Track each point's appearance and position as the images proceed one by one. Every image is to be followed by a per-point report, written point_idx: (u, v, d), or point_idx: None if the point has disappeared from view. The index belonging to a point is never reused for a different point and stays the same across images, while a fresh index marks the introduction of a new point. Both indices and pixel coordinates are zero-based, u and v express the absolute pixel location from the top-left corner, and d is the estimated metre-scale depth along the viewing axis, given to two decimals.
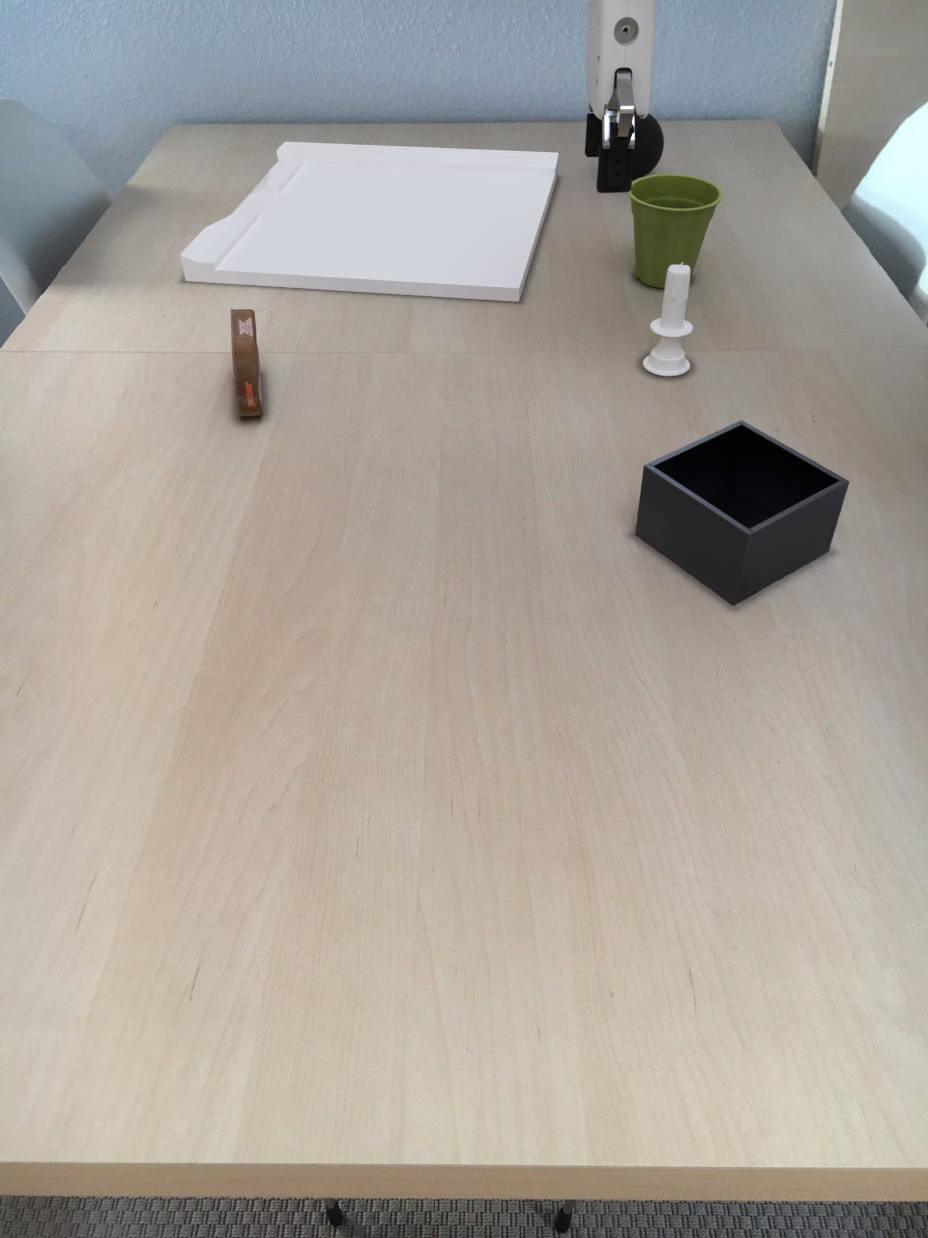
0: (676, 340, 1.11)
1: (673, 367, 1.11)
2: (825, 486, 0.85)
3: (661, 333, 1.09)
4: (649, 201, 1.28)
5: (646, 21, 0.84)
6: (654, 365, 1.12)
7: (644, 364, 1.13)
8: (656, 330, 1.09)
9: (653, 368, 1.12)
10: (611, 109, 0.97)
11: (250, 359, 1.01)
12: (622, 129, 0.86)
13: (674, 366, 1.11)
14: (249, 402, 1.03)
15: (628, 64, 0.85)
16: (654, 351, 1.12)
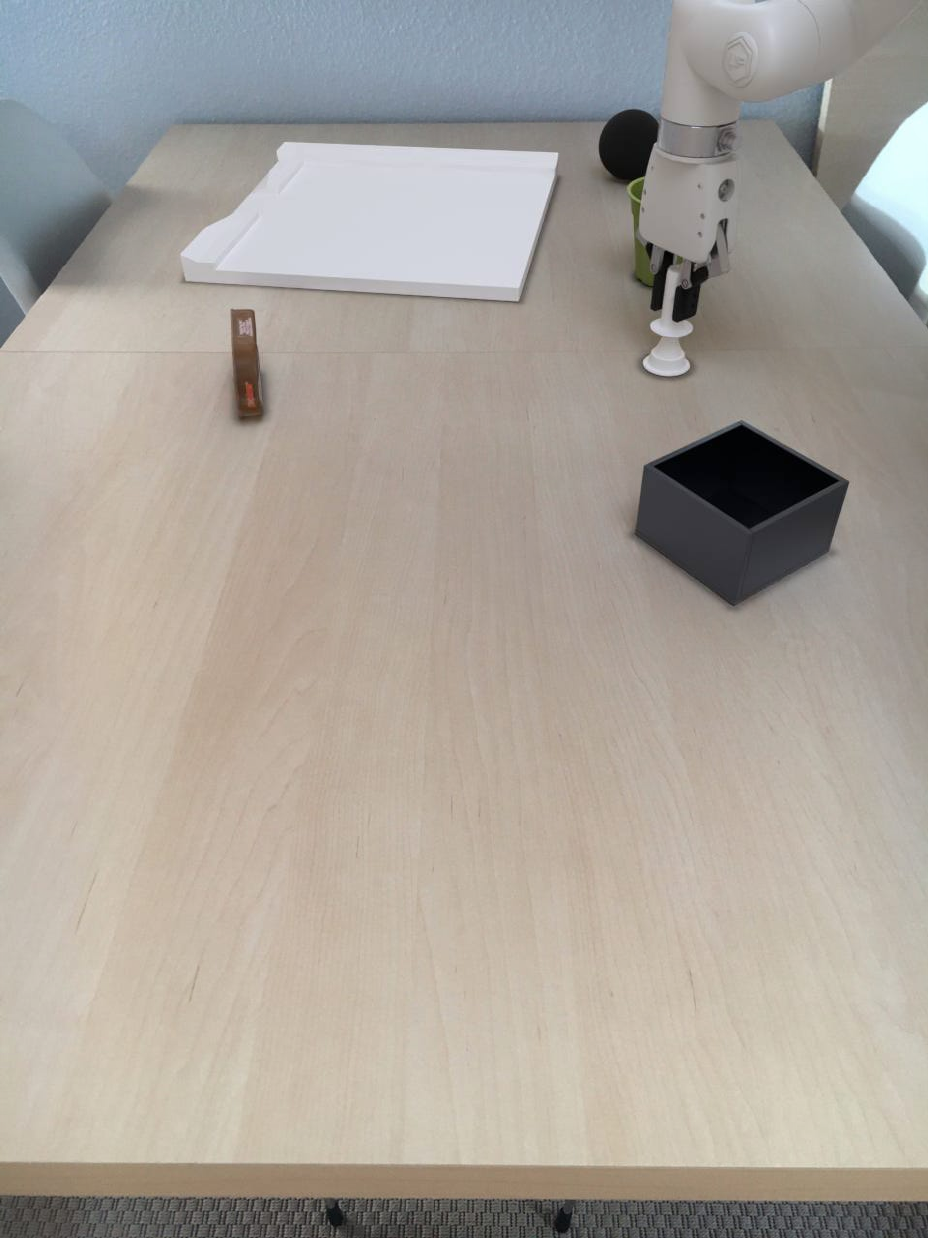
0: (676, 340, 1.11)
1: (673, 367, 1.11)
2: (825, 486, 0.85)
3: (661, 333, 1.09)
4: None
5: (738, 179, 0.97)
6: (654, 365, 1.12)
7: (644, 364, 1.13)
8: (656, 330, 1.09)
9: (653, 368, 1.12)
10: None
11: (250, 359, 1.01)
12: None
13: (674, 366, 1.11)
14: (249, 402, 1.03)
15: (727, 215, 0.98)
16: (654, 351, 1.12)
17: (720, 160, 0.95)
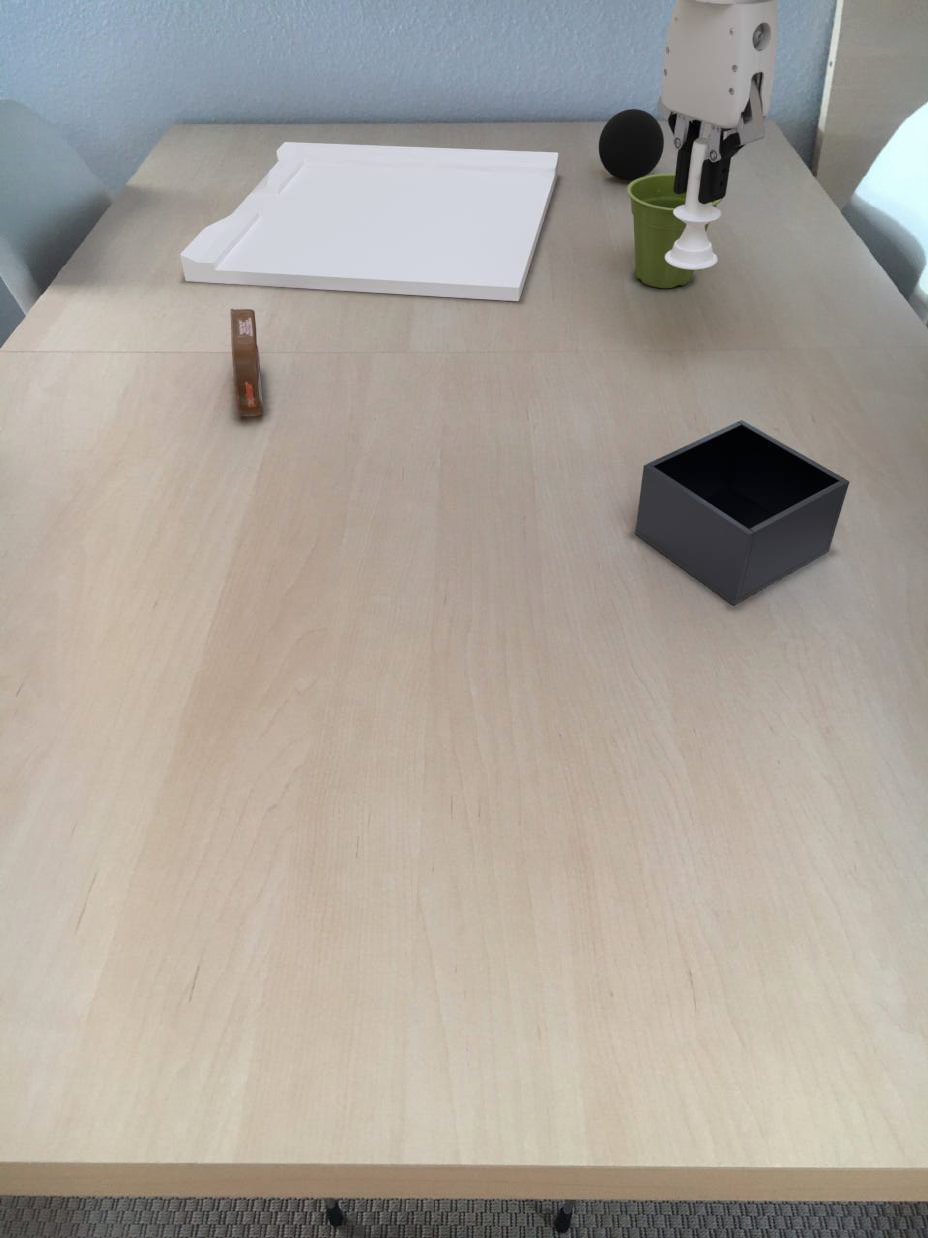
0: (702, 228, 0.99)
1: (699, 259, 0.99)
2: (825, 486, 0.85)
3: (686, 218, 0.97)
4: (649, 201, 1.28)
5: (775, 24, 0.85)
6: (677, 258, 1.00)
7: (666, 258, 1.01)
8: (680, 215, 0.97)
9: (676, 261, 1.00)
10: None
11: (250, 359, 1.01)
12: (743, 144, 0.90)
13: (700, 258, 0.99)
14: (249, 402, 1.03)
15: (762, 68, 0.86)
16: (677, 242, 1.00)
17: (755, 0, 0.83)
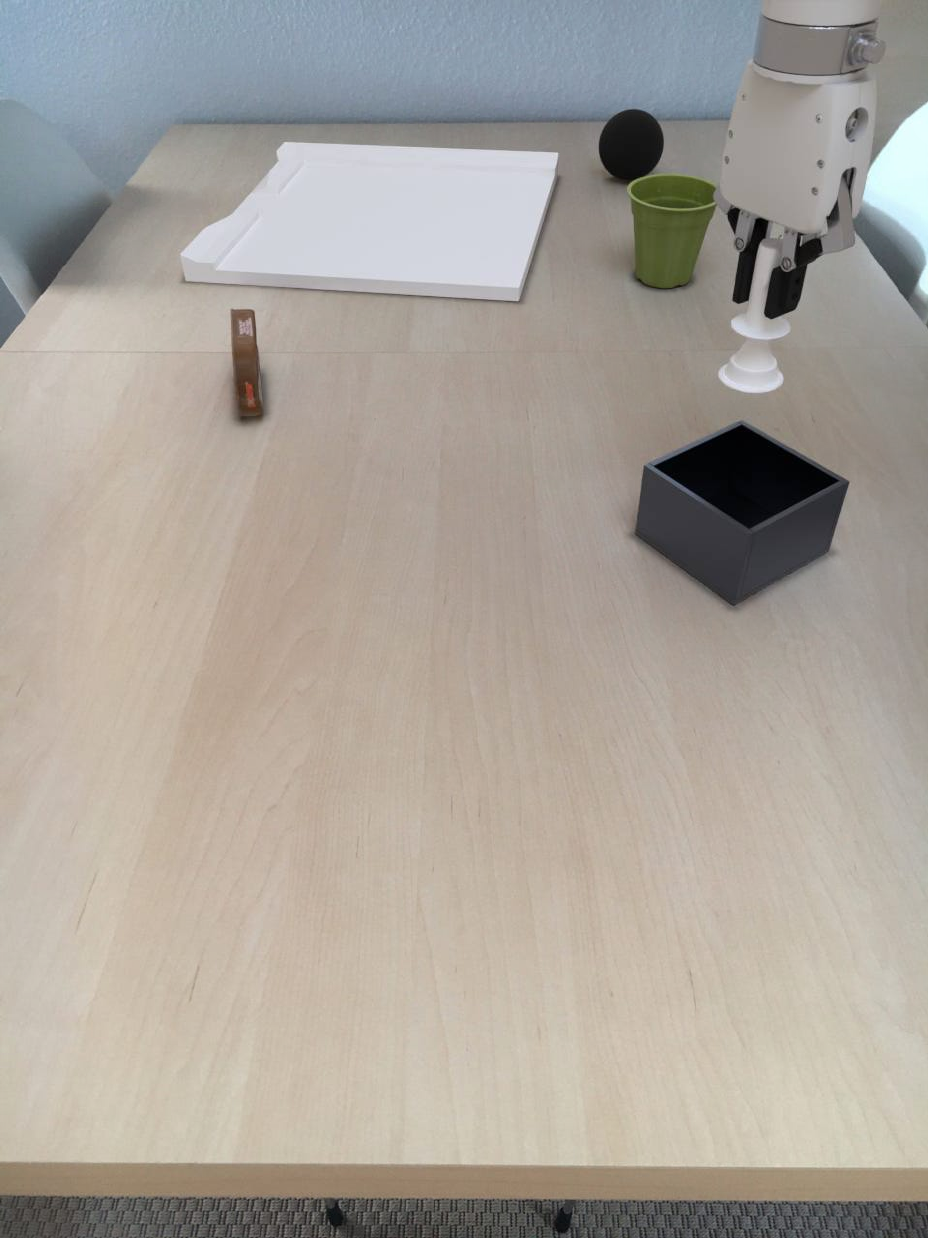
0: (767, 344, 0.80)
1: (762, 381, 0.81)
2: (825, 486, 0.85)
3: (747, 334, 0.79)
4: (649, 201, 1.28)
5: (873, 108, 0.66)
6: (735, 378, 0.82)
7: (720, 377, 0.83)
8: (740, 330, 0.79)
9: (733, 382, 0.82)
10: None
11: (250, 359, 1.01)
12: None
13: (763, 380, 0.81)
14: (249, 402, 1.03)
15: (855, 163, 0.68)
16: (735, 359, 0.82)
17: (849, 80, 0.65)
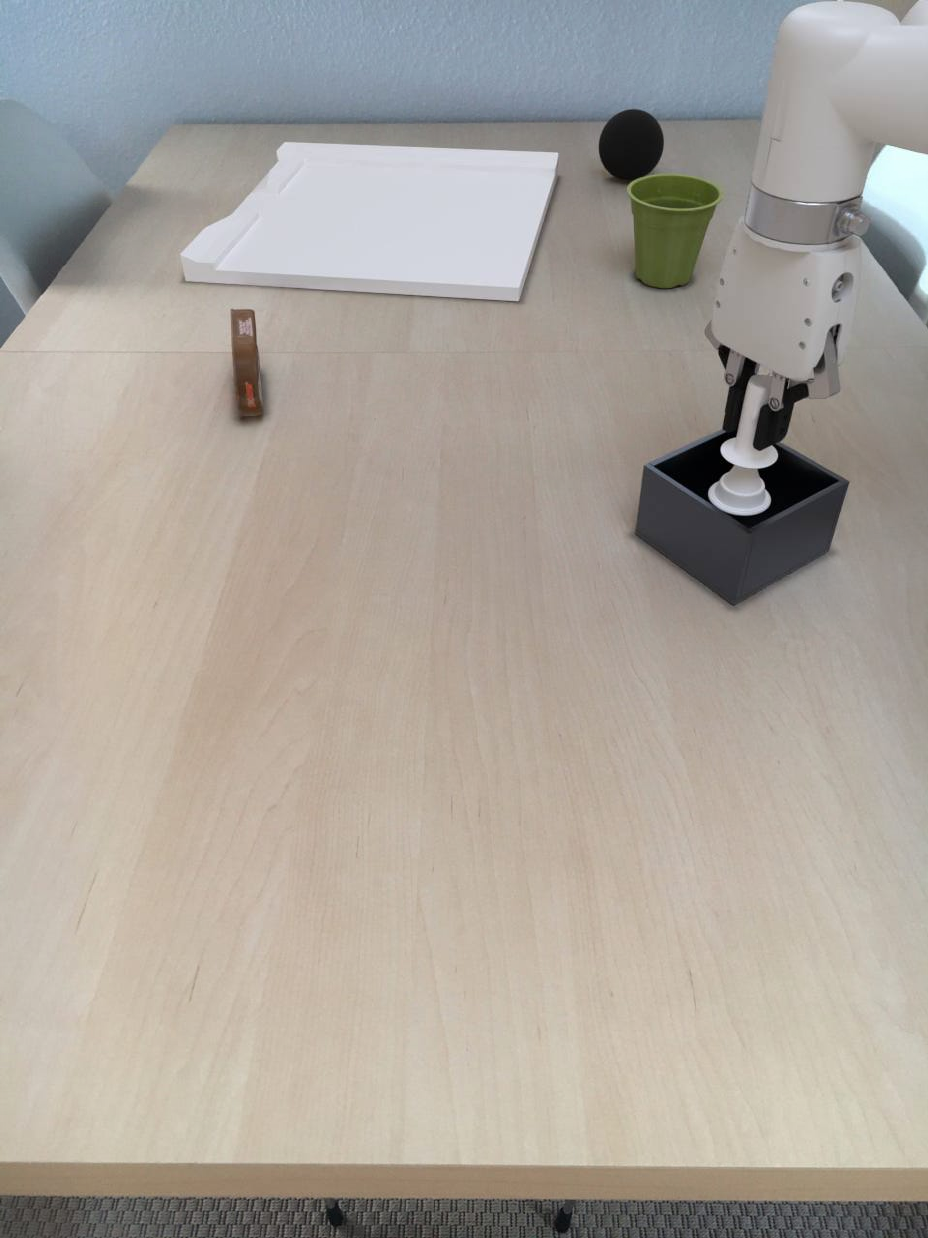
0: (755, 469, 0.83)
1: (750, 504, 0.84)
2: (825, 486, 0.85)
3: (736, 463, 0.82)
4: (649, 201, 1.28)
5: (858, 271, 0.69)
6: (724, 500, 0.85)
7: (710, 497, 0.86)
8: (729, 458, 0.82)
9: (723, 503, 0.85)
10: None
11: (250, 359, 1.01)
12: None
13: (751, 503, 0.84)
14: (249, 402, 1.03)
15: (840, 320, 0.71)
16: (724, 481, 0.85)
17: (836, 247, 0.68)
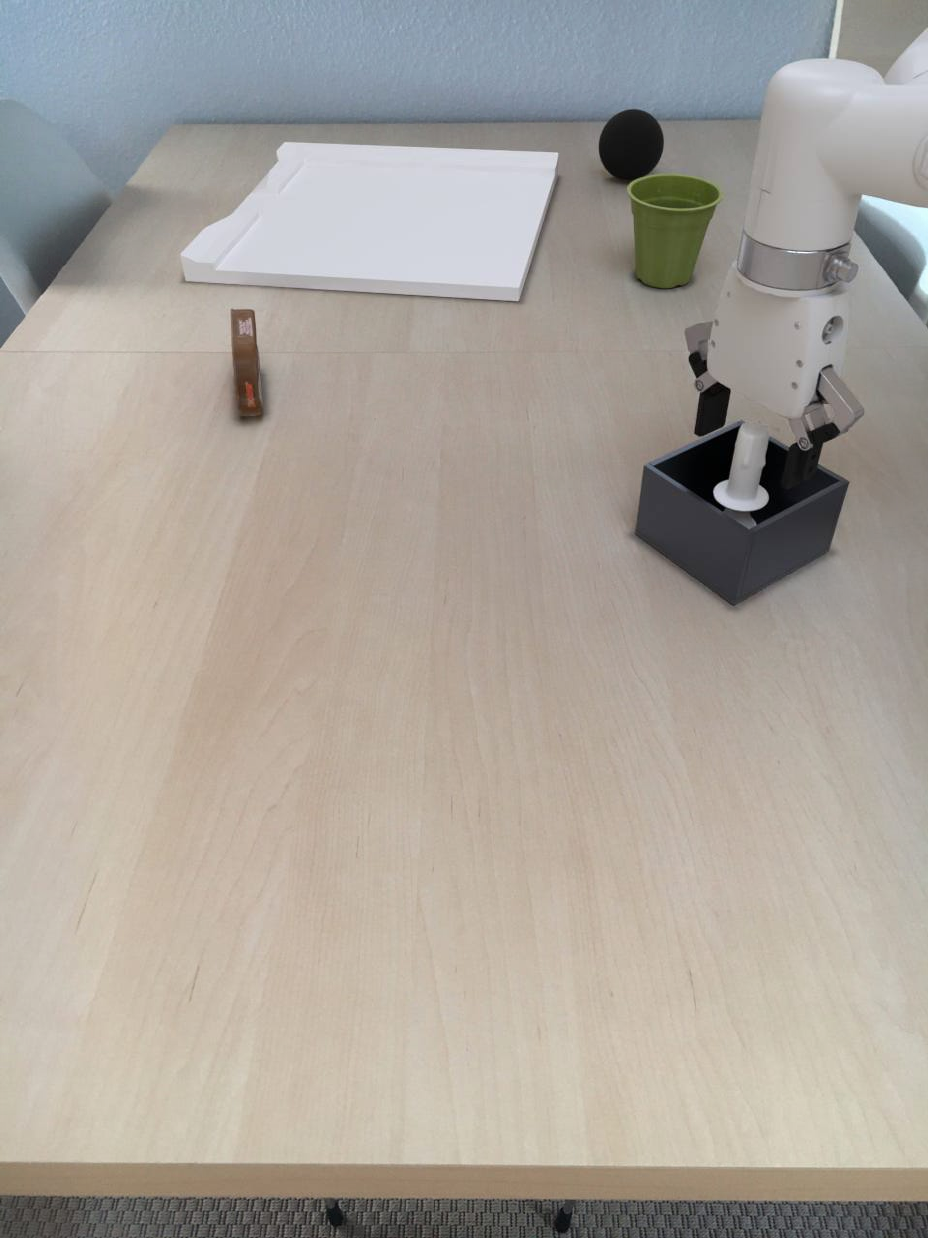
0: (747, 511, 0.86)
1: None
2: (825, 486, 0.85)
3: (729, 506, 0.85)
4: (649, 201, 1.28)
5: (848, 314, 0.72)
6: None
7: None
8: (722, 501, 0.85)
9: None
10: None
11: (250, 359, 1.01)
12: (843, 431, 0.74)
13: None
14: (249, 402, 1.03)
15: (831, 361, 0.73)
16: None
17: (825, 292, 0.70)
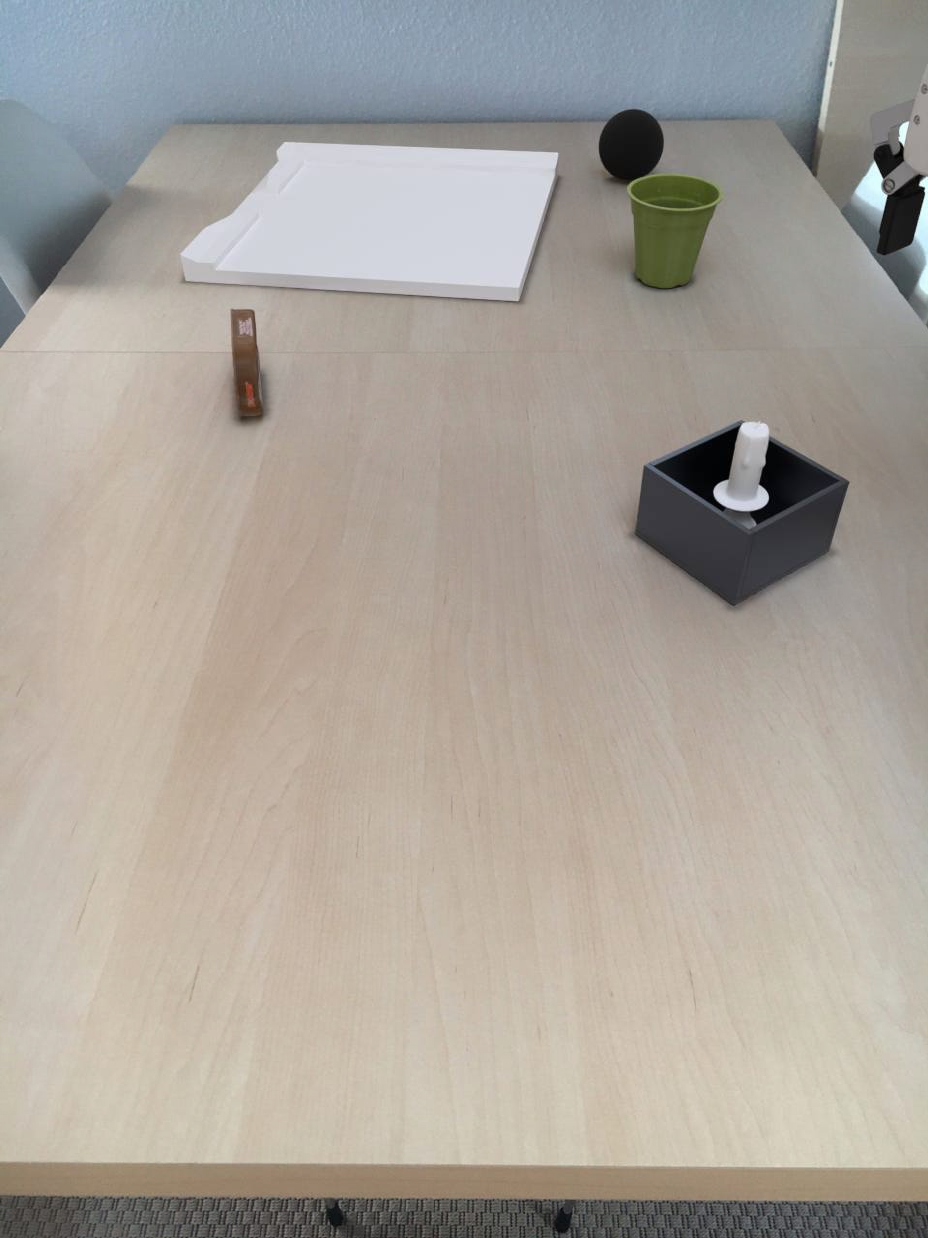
0: (747, 511, 0.86)
1: None
2: (825, 486, 0.85)
3: (729, 506, 0.85)
4: (649, 201, 1.28)
5: None
6: None
7: None
8: (722, 501, 0.85)
9: None
10: None
11: (250, 359, 1.01)
12: None
13: None
14: (249, 402, 1.03)
15: None
16: None
17: None
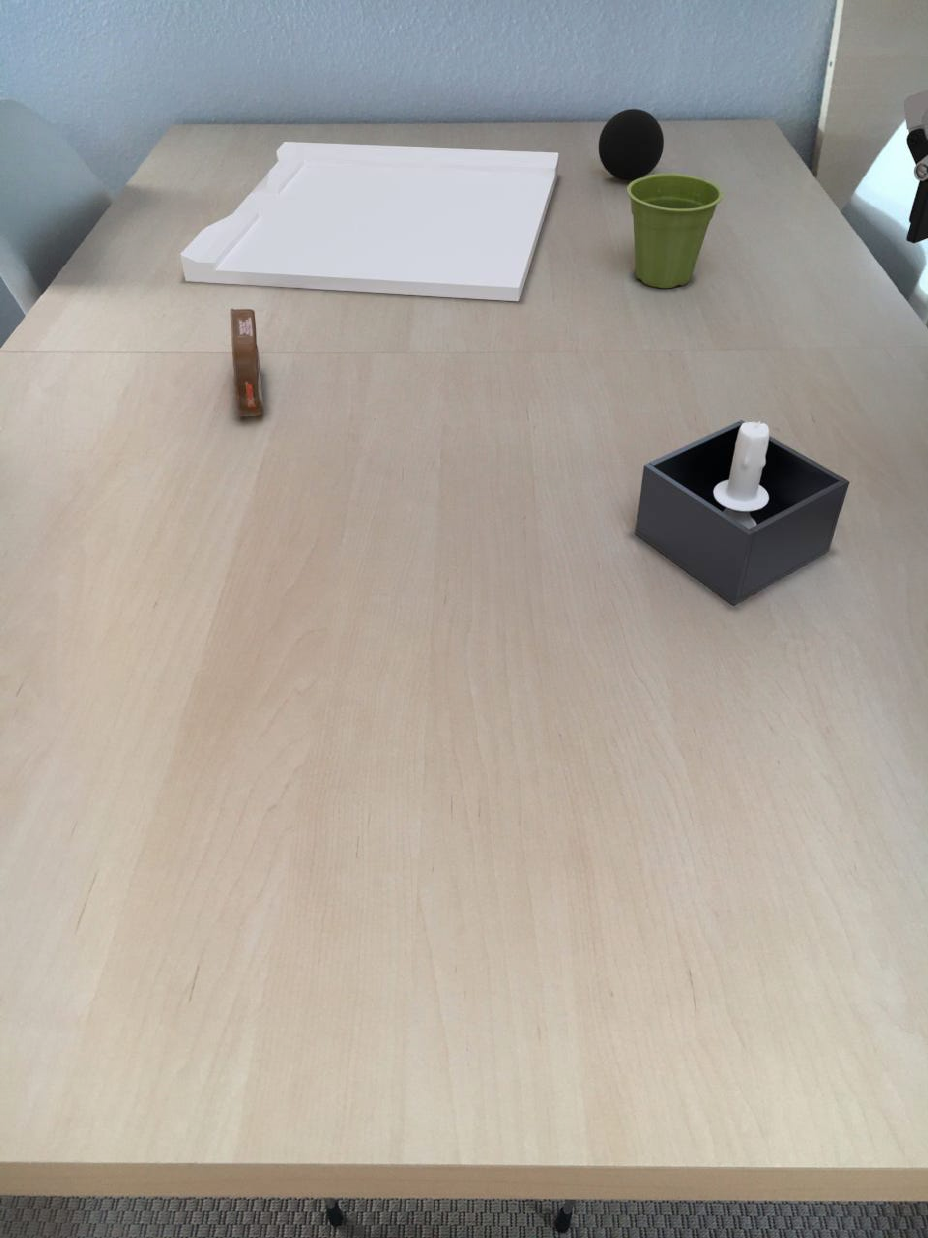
0: (747, 511, 0.86)
1: None
2: (825, 486, 0.85)
3: (729, 506, 0.85)
4: (649, 201, 1.28)
5: None
6: None
7: None
8: (722, 501, 0.85)
9: None
10: None
11: (250, 359, 1.01)
12: None
13: None
14: (249, 402, 1.03)
15: None
16: None
17: None
